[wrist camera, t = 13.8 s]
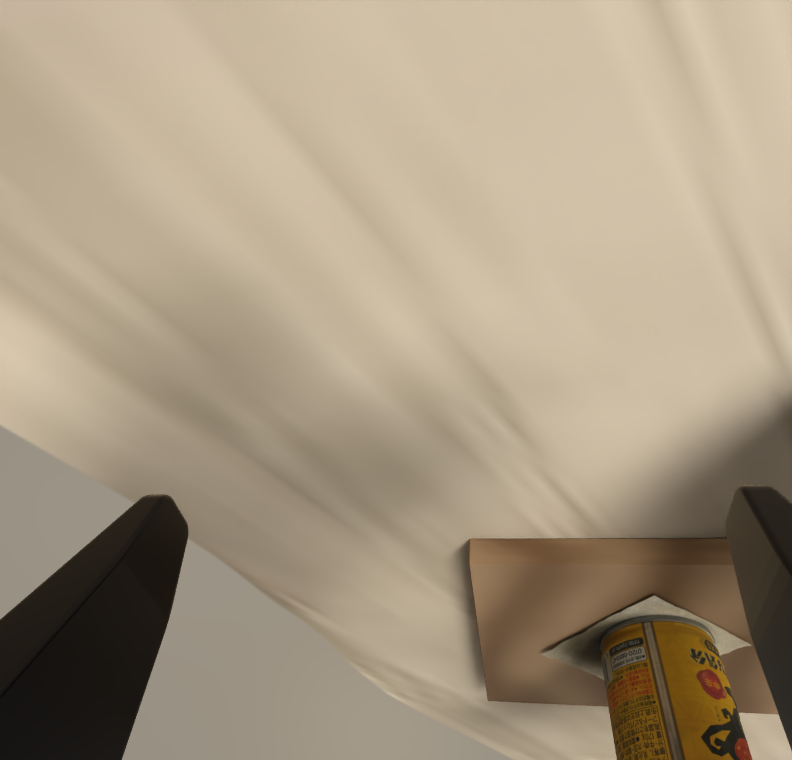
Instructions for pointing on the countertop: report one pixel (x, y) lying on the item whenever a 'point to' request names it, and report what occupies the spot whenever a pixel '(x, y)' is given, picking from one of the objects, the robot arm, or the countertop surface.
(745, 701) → the walnut board
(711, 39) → the countertop surface
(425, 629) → the countertop surface
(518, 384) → the countertop surface
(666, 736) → the condiment
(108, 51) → the countertop surface
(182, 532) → the robot arm
